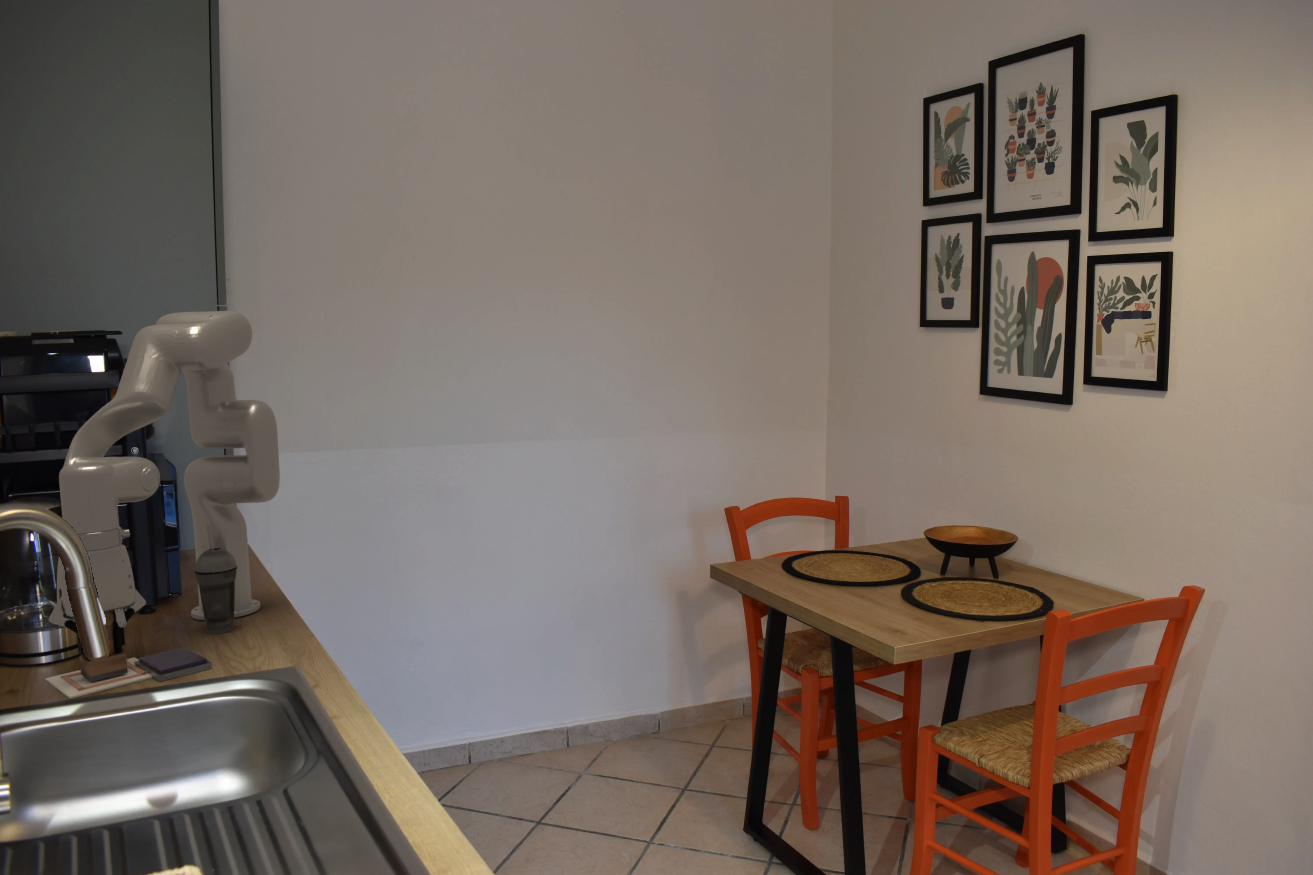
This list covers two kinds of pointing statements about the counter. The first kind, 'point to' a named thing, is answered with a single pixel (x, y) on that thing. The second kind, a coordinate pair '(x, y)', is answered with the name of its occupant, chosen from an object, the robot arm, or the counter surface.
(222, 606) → the beverage cup
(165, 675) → the ink pad
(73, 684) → the print card
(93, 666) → the stamp
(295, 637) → the counter surface
